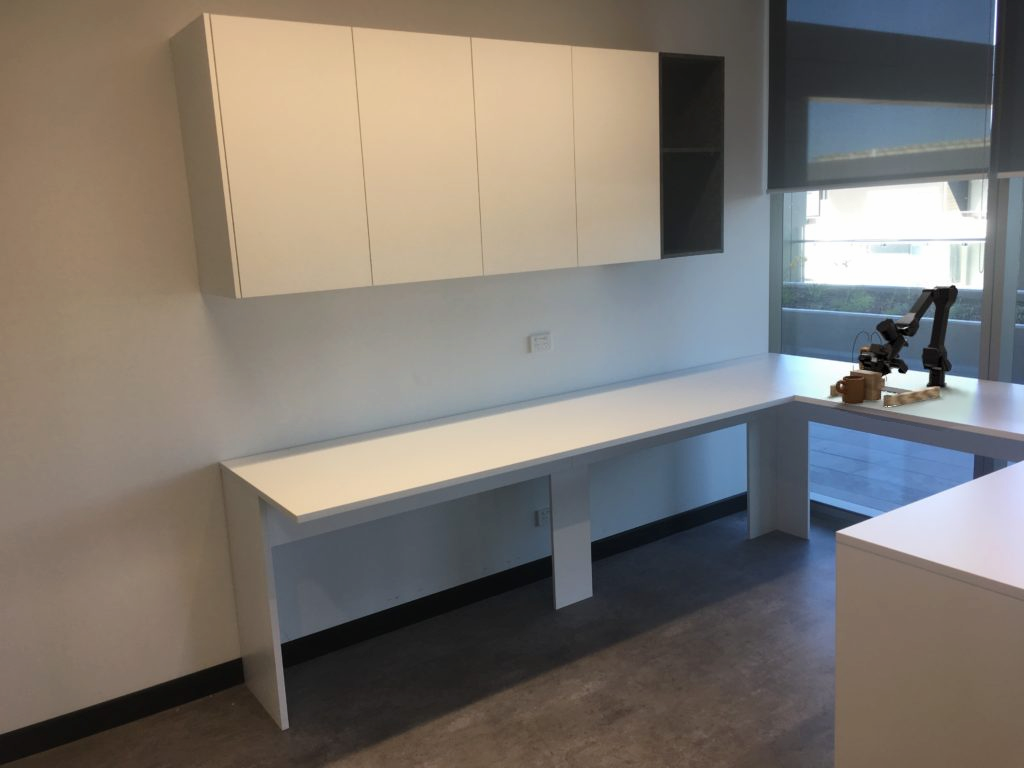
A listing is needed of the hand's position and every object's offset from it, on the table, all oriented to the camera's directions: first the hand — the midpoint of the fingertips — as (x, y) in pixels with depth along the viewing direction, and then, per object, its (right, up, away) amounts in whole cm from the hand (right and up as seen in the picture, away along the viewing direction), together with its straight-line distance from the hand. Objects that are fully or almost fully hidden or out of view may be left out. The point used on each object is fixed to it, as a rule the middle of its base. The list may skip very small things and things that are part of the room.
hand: (870, 381), depth 308 cm
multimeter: (+12, 0, +34) cm, 36 cm away
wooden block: (-2, -7, 0) cm, 7 cm away
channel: (+7, -6, +5) cm, 10 cm away
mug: (-10, -8, -3) cm, 13 cm away
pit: (+16, -4, +9) cm, 19 cm away
